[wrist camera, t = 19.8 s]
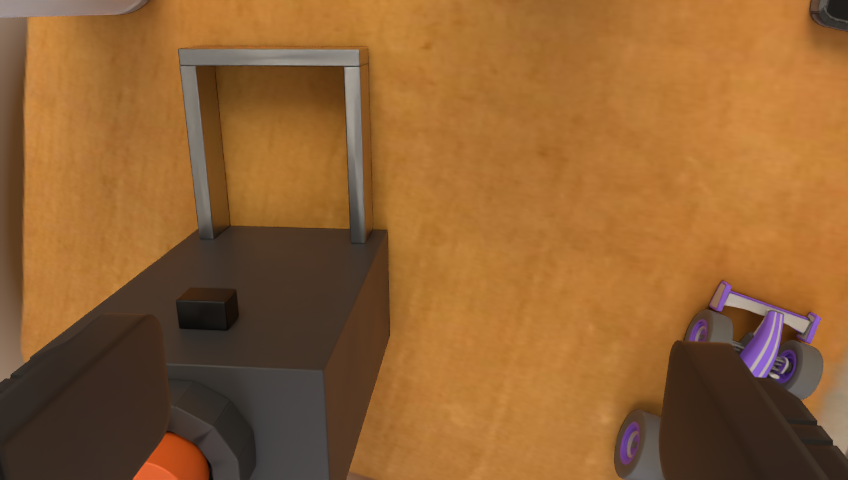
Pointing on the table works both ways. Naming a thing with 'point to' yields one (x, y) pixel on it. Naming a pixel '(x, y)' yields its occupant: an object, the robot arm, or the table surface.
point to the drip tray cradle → (208, 162)
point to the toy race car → (759, 351)
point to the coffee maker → (269, 346)
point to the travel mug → (67, 7)
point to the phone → (830, 13)
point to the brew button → (174, 461)
